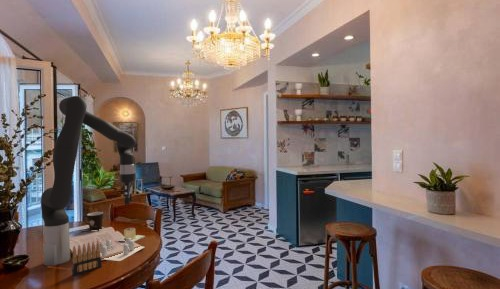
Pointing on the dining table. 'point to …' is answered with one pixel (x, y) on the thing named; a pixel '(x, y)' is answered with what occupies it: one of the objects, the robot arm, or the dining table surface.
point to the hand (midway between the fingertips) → (128, 203)
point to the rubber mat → (136, 237)
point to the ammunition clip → (86, 259)
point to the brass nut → (129, 233)
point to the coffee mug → (94, 220)
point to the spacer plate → (123, 255)
